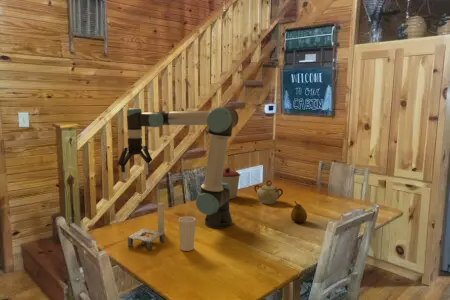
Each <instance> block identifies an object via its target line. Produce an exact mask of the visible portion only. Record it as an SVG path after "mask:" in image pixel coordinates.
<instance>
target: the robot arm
mask: <svg viewBox="0 0 450 300" xmlns="http://www.w3.org/2000/svg"><path fill="white" fill-rule="evenodd" d="M238 123H239V114H238V112H237V110H236V109H235V108H234V107H231V106H218V107H215V108H213V109H211V110H185V111H184V110H183V111H181V110H180V111H179V110H177V111H176V110H175V111H174V110H173V111H166V110H164V111H163V110H162V111H153V112H151V111H150V112H147V111H146V112H145V111H142V108H136V107H133V108H130V107H129V108H127V109H126V125H127V129H126V130H127V137H128V138H127V147H124V146H122V150H121V151H122V152H121V154H120V156H119V159H118V161H117V166H120V170H121V173H122V179H125V180H126V179H128V175H127V173H128V172H127V171H128V169H127V167H128V166H127V164H128V162H129V160H130V158H131V157H132V156H135V155H139V156H140V157H141V158H142V159H143V161H144V163H143V168H144V170H143V171H144V175H147V176H148V175H149V169H150V163H151V162H152V161H153V159H152V156H151V154H150V152H149V150H148V145H147V144H143V129H142V127H143V128H144V127H147V128H160V127H162V126H207V127H208V130H207V134H208V135H209V136H210V138H209V147H208V153H207V162H206V167H205V175H204V182H203V183H202V184H201V185H200V188H199V189H200V190H199V194H198V195H197V197H196V199H195V207H196V209H197V210H198V211H199V212H200V213H201V214H203V215H205V217H204V225H205V226H207V227H209V228H214V229H223V228H224V229H226V228H228V227H231V226H232V225H233V218H232V214H231V211H230V201H231V199H230V185H229V184H228V183H223V182H222V175H223V171H224V170H225V163H226V162H225V161H226V154H227V153H226V152H227V148H228V139H230V138H231V137H232V135H233V134H232V133H233V129H234V128H235V127H236V126H237V124H238ZM142 150H143V151H142Z"/></svg>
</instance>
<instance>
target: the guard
mask: <svg viewBox="0 0 450 300" xmlns="http://www.w3.org/2000/svg"><path fill="white" fill-rule="evenodd" d="M147 234H148V235H149V237H143V236H144V235H147ZM158 238H159V243H164V242H165V231H164V232H160V231H158V230H154V229H148V228H141V229H139V230H138V231H136V232H134V233H132V234H131V235H129V236H127V247H129V248H131V247H133V246H134V240H135V241H140V242H141V244H140V245H141V246H143V247H146V251H148V252H151V251H152V250H153V241H154V240H155V241H156V239H158Z"/></svg>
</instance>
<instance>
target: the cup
mask: <svg viewBox="0 0 450 300" xmlns="http://www.w3.org/2000/svg"><path fill="white" fill-rule="evenodd" d="M196 220H197V219H196V218H195V217H194V216H191V215H189V216H188V215H187V216H186V215H185V216H181V217H179V218H178V228H179V229H178V230H179V234H178V236H179V249H180V250H181V251H183V252H186V251H187V252H188V251H193V250H194V248H195V234H196V233H195V231H196V222H197V221H196Z"/></svg>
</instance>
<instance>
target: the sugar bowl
mask: <svg viewBox="0 0 450 300" xmlns="http://www.w3.org/2000/svg"><path fill="white" fill-rule="evenodd" d="M253 188H254V191H255V193H256V195H257V198H258V199H259V201H260V203H261V204H263V205H273V204H274V203H275V202H277V200H279V199H280V197H281V196H282V195H283V194H284V191H283V189H282V188H277V186H274V185H273V182H272V181H271V180H267V181H266V183H265V184H264V185H258V184H256V185H255V186H254V187H253Z"/></svg>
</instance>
